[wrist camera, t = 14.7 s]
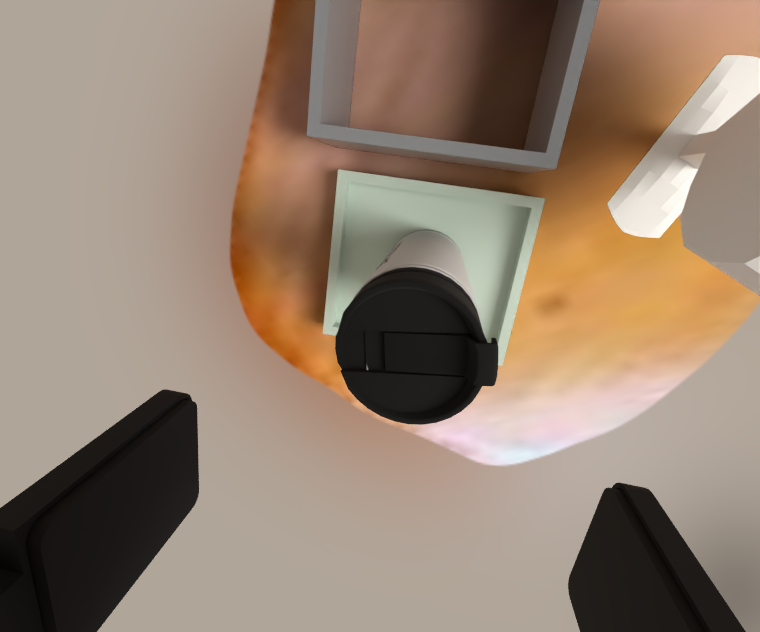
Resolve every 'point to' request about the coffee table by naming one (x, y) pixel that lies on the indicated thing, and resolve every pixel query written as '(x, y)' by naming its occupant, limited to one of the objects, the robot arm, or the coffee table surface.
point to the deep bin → (540, 152)
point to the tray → (440, 213)
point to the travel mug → (416, 334)
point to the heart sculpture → (705, 174)
